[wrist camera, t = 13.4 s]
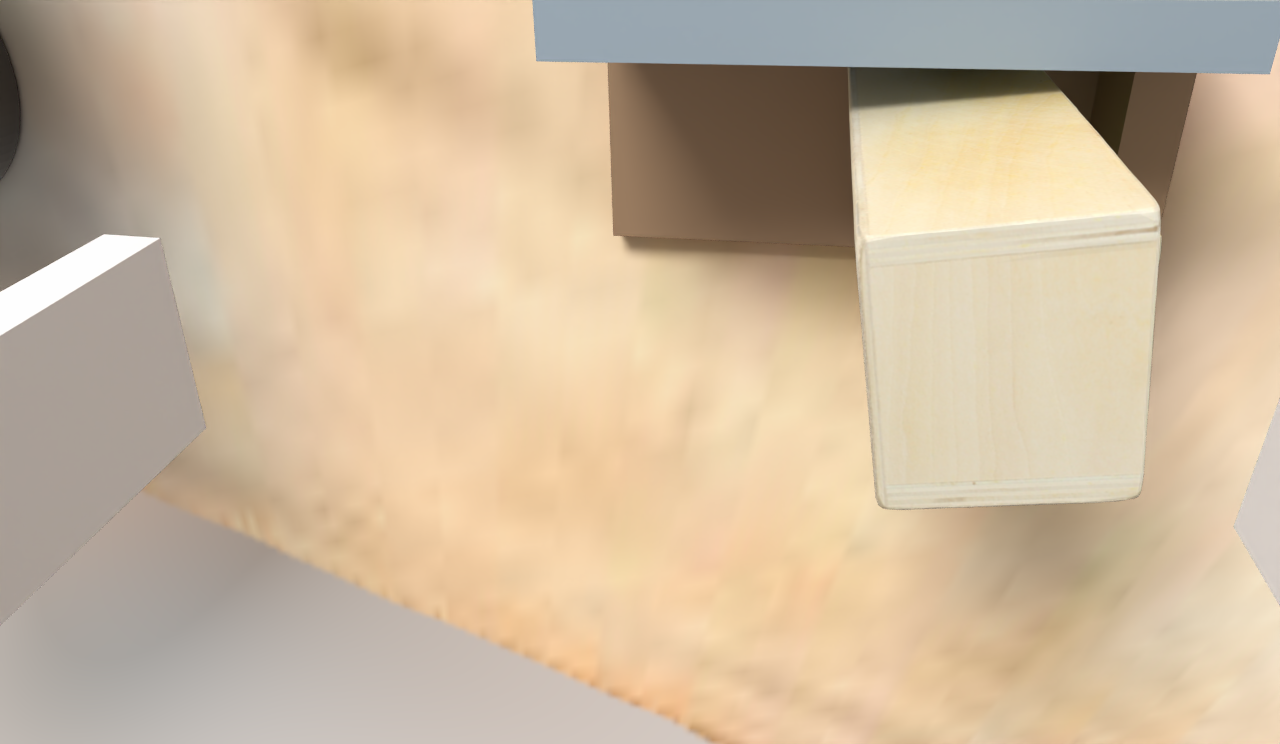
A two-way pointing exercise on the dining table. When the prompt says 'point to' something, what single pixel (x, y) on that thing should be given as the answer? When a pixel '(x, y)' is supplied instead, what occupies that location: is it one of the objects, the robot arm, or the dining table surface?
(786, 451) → the dining table surface
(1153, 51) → the cleat board
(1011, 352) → the toy refrigerator
